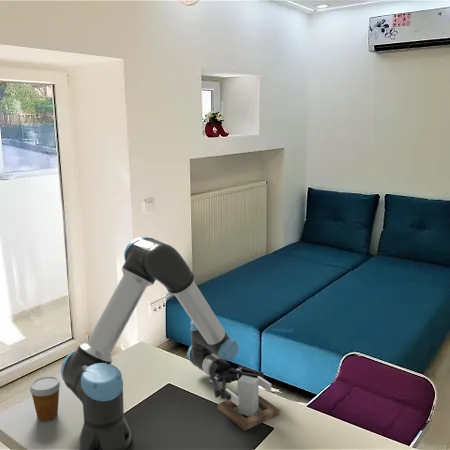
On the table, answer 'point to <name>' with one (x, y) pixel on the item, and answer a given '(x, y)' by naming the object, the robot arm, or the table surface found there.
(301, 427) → the table surface
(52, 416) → the disposable coffee cup
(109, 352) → the robot arm
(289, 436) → the table surface
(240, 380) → the skincare box
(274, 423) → the table surface
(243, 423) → the square wooden frame
